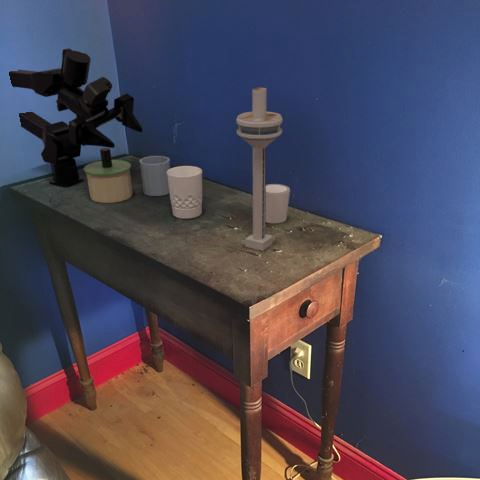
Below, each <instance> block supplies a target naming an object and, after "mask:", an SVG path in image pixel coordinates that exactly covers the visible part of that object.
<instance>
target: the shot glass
mask: <svg viewBox="0 0 480 480" xmlns="http://www.w3.org/2000/svg"><path fill="white" fill-rule="evenodd" d="M290 194H291V188H290V187H289V186H288V185H285V184H279V183H270V184H266V208H265V223H267V224H280V223H284V222H286V220H287V218H288V209H289V204H290V203H289V202H290Z"/></svg>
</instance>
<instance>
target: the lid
mask: <svg viewBox="0 0 480 480" xmlns="http://www.w3.org/2000/svg"><path fill="white" fill-rule="evenodd" d="M99 153H100V159H101V160H98V161H93V162H90V163H87V164H86V165H84V167H83V172H84V173H85V174H86V173H87V174H90V175H95V176H109V175H116V174H121V173H124V172H126V171H128V170H130V171H131V169H132V165H131V162H128V161H126V160H121V159H112V153H111V148H110V147H102V148H100V149H99ZM87 174H86V175H87Z"/></svg>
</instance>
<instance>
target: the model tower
mask: <svg viewBox="0 0 480 480" xmlns="http://www.w3.org/2000/svg"><path fill="white" fill-rule="evenodd" d="M251 90H252V91H251V92H252V93H251V96H252V97H251V98H252V99H251V101H252V104H251V105H252V111H246V112H242V113H239V114H238V115H237V117H236V119H235V120H236V125H237V129H236V135H237V136H239V137H240V138H241V139H243V140H244V141H245V142H246V143H247V144H248V145H250V146H251V147H252V234H250V235H249V236H247V237H246V238H244V247H245V248H249V249H253V250H258V251H260V252H261V251H262V252H263V251H265V250H266V249H268V248H269V247H270V246H271V245H273V244H274V236H273V235H272V234H266V222H265V208H266V185H267V146H269V145H270V144H271V143H273V142H274V141H275V140H276V139H278V138H279V137H280V136H281V135H282V134H283V129H282V128H281V127H282V123H283V116H282V114H281V113H278V112H274V111H267V100H268V99H267V93H268V91H267V90H268V89H267V88H266V87H254V88H252V89H251Z"/></svg>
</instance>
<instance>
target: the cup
mask: <svg viewBox="0 0 480 480" xmlns="http://www.w3.org/2000/svg"><path fill="white" fill-rule="evenodd" d="M138 161H139V170H140V171H139V172H140V178H141V189H142V193H143V194H144V195H146V196H149V197H162V196H166V195H170V193H169V186H168V179H167V171H168V170H169V169H171V168H172V167H171V159H170V157H167V156H164V155H149V156H145V157H142V158H140V159H139V160H138Z"/></svg>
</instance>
